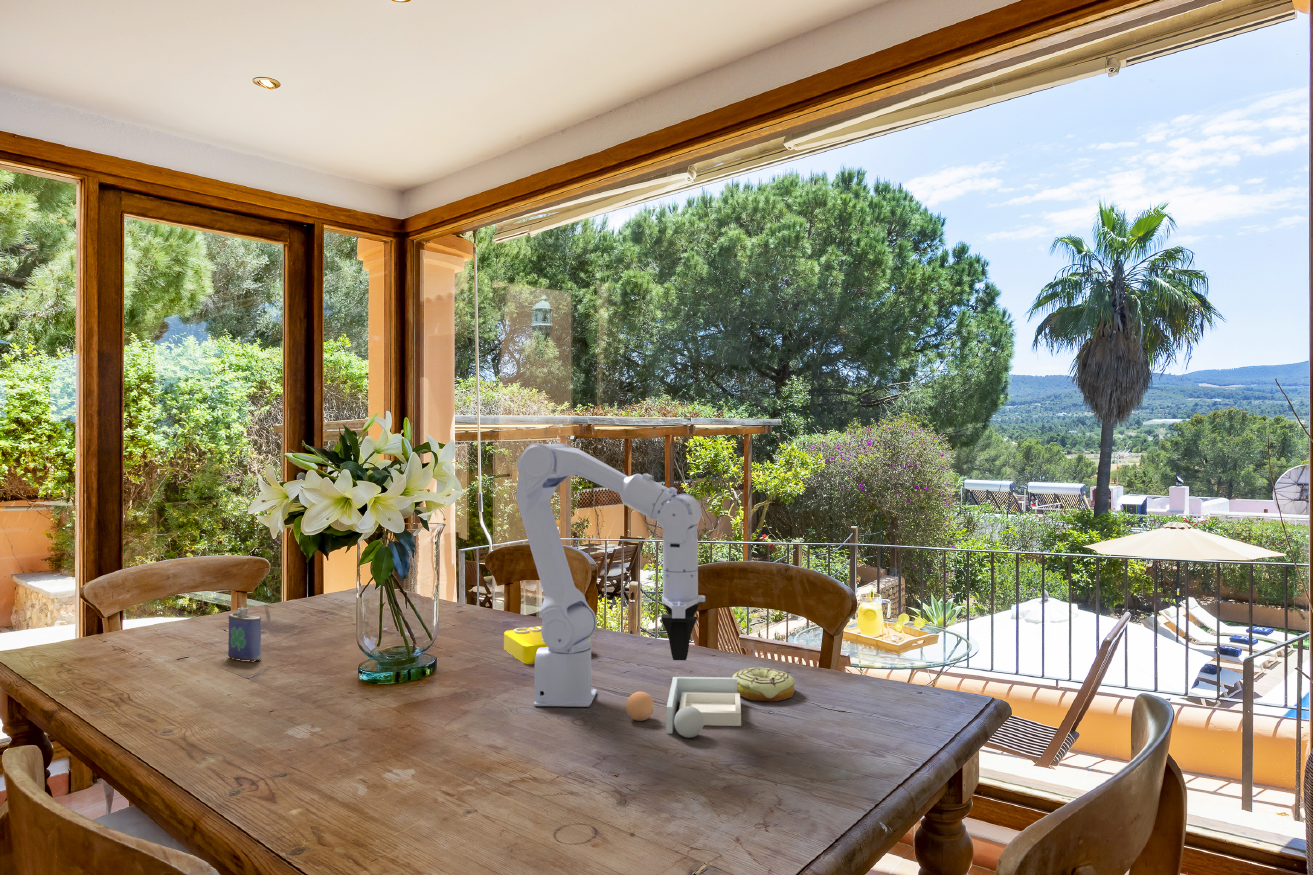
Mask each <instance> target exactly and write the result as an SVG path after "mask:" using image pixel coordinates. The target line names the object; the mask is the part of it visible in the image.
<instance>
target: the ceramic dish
mask: <svg viewBox="0 0 1313 875" xmlns="http://www.w3.org/2000/svg"><path fill="white" fill-rule="evenodd" d="M686 706H692V707H695V708H697V709H698V710H699V711H700V712H701V714H702V716H703V719H704V725H703V726H716V727H717V726H722V727H723V726H724V727H726V726H727V727H730V726H732V727H741V726H742V709H741V708H742V707H741V706H742V705H741V696H740V693H715V692H682V695H681V701H680V702H679V707H678V708H679V709H678V711H679V710H680V709H681V708H683V707H686Z"/></svg>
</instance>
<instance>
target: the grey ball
mask: <svg viewBox="0 0 1313 875" xmlns="http://www.w3.org/2000/svg"><path fill="white" fill-rule="evenodd" d="M704 726H705V725H704V719H703V716H702V714H701V712H700V711H699V710H698V709H697V708H695V707H692V706H686V707H683V708H681V709H680V710H679V709H678V711H676V715H675V719H674V728H675V730H676V732H677V733H678V734H679V735H680V736H682V737H684V738H689V739H691V738H695V737H696V736H698V735H699V734H700V733H701V732H702V730H703V728H704Z"/></svg>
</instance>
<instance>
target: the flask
mask: <svg viewBox="0 0 1313 875" xmlns="http://www.w3.org/2000/svg"><path fill="white" fill-rule="evenodd" d="M248 611H249V607H238V608H237V612H233V613H230V614H228V640H227V641H228V645H227V646H228V652H227V657H228V656H229V657H230V658H234V659H240V660H250V661H254V660H257V661H258V660H259V661H260V659H261V660H262V625H261V624H262V623H261V622H262V617H261V616H256V615H248Z"/></svg>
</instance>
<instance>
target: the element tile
mask: <svg viewBox="0 0 1313 875" xmlns="http://www.w3.org/2000/svg"><path fill="white" fill-rule="evenodd" d="M541 629H542V625H537V626H529V627H516V628H514V629H508V630H505V631H504V632H503V651H504V650H506V651H507V652H508V653H509V654H511V655H513V656H514V657H515V658H516V659H518V660H520V661H521V662H523V663H526V664H532V663H535V656H536V652H537V650H538V648H541V647H548V646H547V645H546V644H545V642H544V640H543V638H542V633H541ZM591 636H592V635H591ZM591 636H590V642H591V643H592V637H591ZM508 653H507V654H508ZM509 654H508V655H509ZM511 655H510V656H511ZM515 658H514V659H515ZM516 659H515V660H516ZM518 660H517V661H518ZM521 662H520V663H521Z"/></svg>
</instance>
